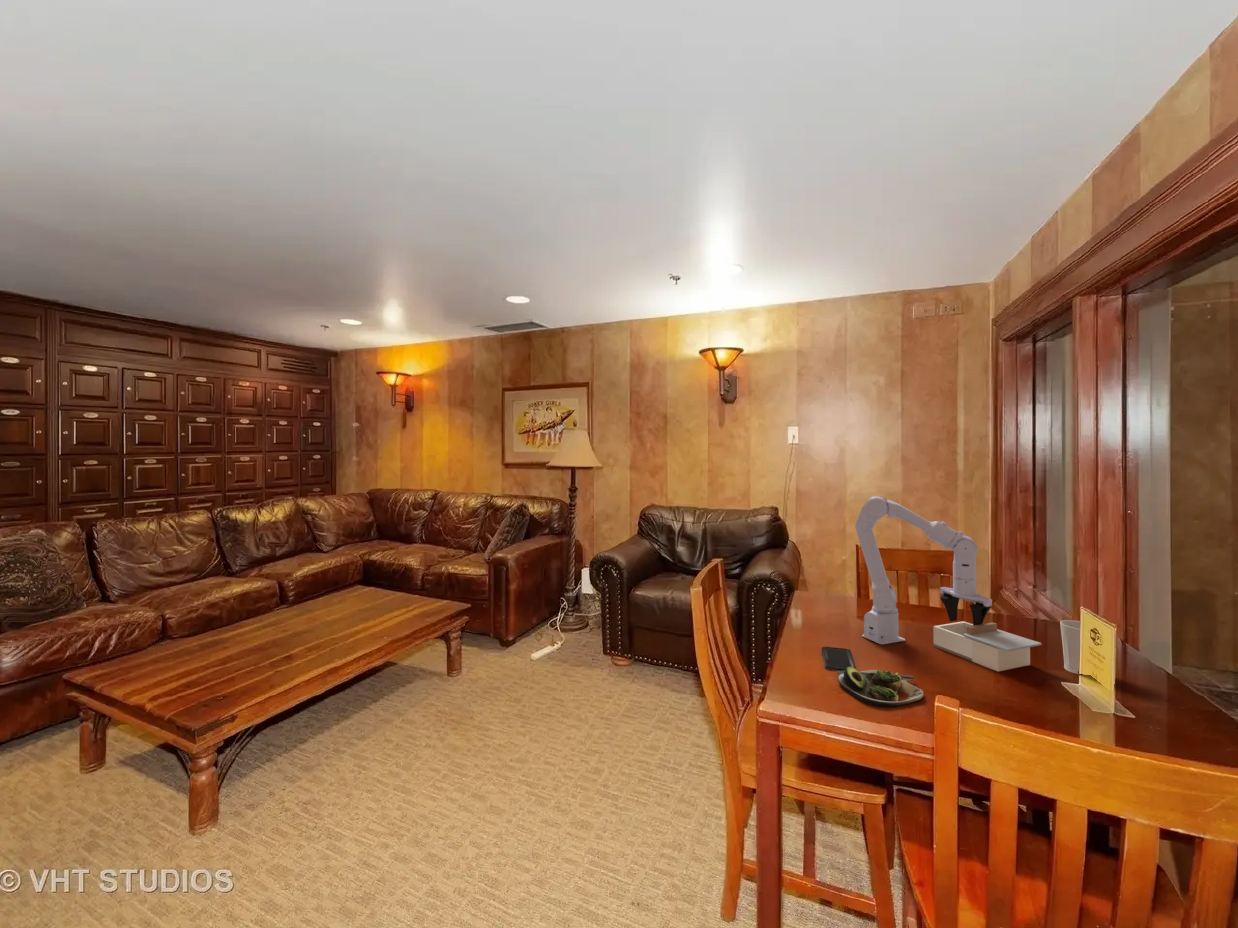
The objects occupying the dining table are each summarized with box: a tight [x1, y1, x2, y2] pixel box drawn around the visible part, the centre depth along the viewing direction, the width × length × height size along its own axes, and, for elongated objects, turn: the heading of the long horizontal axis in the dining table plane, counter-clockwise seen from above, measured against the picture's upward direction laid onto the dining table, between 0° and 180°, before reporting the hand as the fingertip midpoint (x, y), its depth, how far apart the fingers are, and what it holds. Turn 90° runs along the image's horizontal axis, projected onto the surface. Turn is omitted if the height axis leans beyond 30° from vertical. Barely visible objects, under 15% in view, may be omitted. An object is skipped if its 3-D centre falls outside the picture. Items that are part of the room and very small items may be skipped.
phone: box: [821, 646, 857, 672], centre depth 146 cm, size 8×1×15 cm
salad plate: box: [835, 667, 925, 708], centre depth 128 cm, size 19×18×5 cm
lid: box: [962, 622, 1042, 652], centre depth 141 cm, size 12×12×2 cm
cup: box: [1059, 619, 1081, 675], centre depth 135 cm, size 8×8×12 cm
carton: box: [932, 620, 1031, 672], centre depth 147 cm, size 12×19×6 cm, turn 18°
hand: (964, 624), depth 151 cm, fingers open, 7 cm apart
